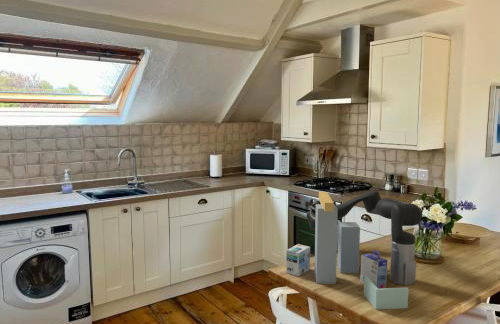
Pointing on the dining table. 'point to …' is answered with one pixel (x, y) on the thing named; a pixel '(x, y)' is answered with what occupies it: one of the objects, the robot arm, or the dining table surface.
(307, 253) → the light bulb box
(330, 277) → the tall post
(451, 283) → the dining table surface
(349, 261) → the low post
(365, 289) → the l-shaped corner panel
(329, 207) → the rail
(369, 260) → the ink cartridge box
